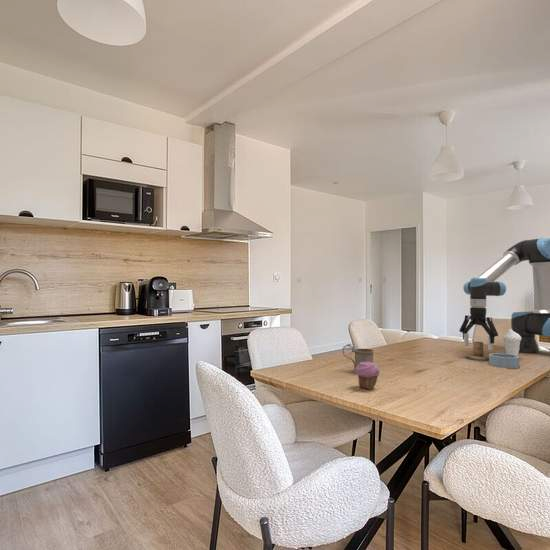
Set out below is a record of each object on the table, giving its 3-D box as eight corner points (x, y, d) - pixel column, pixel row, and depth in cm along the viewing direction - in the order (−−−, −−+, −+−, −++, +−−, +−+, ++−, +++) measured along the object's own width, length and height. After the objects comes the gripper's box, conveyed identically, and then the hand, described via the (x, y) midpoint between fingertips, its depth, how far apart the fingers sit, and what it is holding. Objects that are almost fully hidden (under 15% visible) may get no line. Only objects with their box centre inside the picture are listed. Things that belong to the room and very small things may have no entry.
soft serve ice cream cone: (516, 357, 207) (516, 327, 208) (525, 361, 199) (524, 329, 199) (500, 357, 208) (499, 327, 208) (507, 360, 200) (507, 329, 200)
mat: (474, 355, 213) (474, 355, 213) (499, 360, 200) (499, 359, 200) (457, 358, 206) (457, 357, 206) (482, 363, 194) (482, 362, 194)
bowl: (499, 362, 196) (499, 352, 196) (525, 367, 185) (524, 356, 185) (483, 364, 190) (483, 354, 190) (509, 369, 179) (509, 358, 179)
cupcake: (351, 387, 148) (351, 361, 148) (363, 383, 154) (363, 358, 154) (371, 392, 141) (371, 365, 141) (384, 388, 147) (384, 361, 148)
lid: (475, 355, 211) (475, 339, 211) (496, 359, 201) (496, 343, 201) (460, 357, 206) (460, 341, 206) (481, 361, 195) (481, 344, 195)
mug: (375, 370, 178) (375, 343, 178) (375, 375, 168) (375, 347, 168) (343, 368, 182) (343, 342, 182) (341, 372, 172) (341, 345, 172)
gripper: (452, 305, 213) (452, 344, 213) (496, 308, 191) (496, 352, 190) (461, 305, 216) (461, 343, 216) (506, 308, 194) (506, 351, 194)
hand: (478, 347), depth 203 cm, fingers open, 13 cm apart
